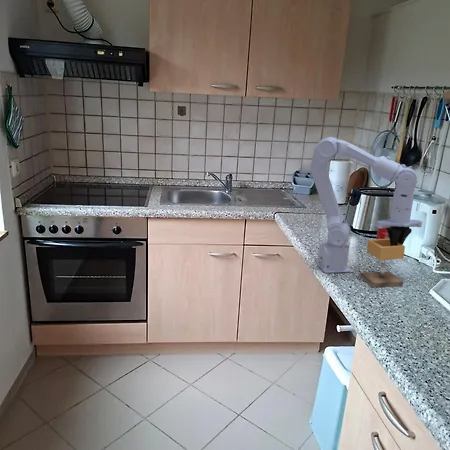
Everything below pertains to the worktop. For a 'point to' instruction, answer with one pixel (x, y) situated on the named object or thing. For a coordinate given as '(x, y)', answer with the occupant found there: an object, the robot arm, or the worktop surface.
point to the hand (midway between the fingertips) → (395, 248)
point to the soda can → (382, 233)
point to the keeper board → (381, 278)
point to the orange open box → (385, 249)
